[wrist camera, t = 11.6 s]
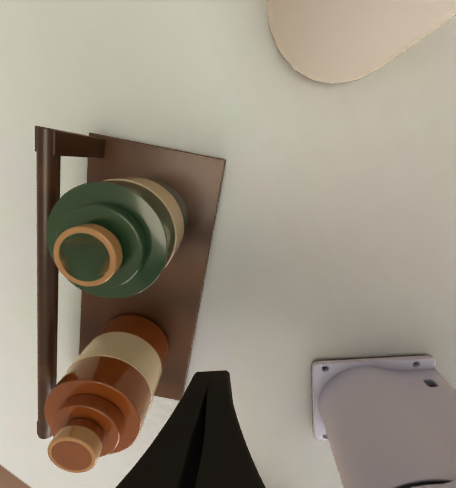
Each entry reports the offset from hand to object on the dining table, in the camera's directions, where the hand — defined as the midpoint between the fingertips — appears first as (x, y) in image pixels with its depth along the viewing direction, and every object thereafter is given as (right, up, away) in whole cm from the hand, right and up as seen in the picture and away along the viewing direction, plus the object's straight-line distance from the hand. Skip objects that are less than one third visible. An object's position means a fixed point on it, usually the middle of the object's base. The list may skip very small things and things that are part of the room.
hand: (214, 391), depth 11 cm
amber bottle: (-7, -2, +11) cm, 13 cm away
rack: (-6, +3, +10) cm, 12 cm away
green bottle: (-5, +8, +8) cm, 12 cm away
